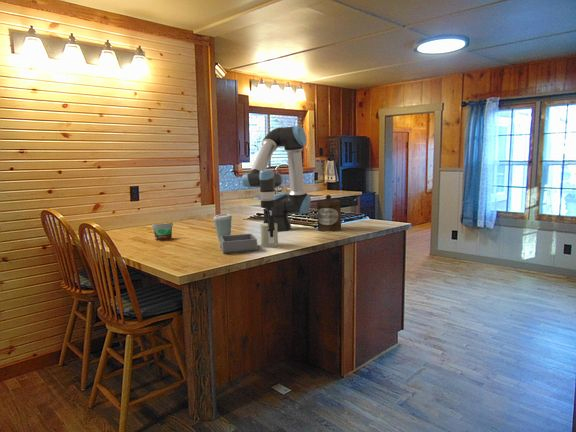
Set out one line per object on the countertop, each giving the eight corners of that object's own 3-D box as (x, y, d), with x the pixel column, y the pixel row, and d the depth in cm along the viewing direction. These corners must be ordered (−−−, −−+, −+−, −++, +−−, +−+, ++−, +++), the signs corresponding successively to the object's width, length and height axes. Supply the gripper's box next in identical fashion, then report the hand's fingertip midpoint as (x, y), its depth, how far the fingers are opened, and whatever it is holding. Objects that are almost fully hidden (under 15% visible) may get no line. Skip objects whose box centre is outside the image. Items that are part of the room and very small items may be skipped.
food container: (153, 241, 242) (152, 225, 240) (152, 240, 247) (151, 223, 246) (175, 239, 246) (174, 223, 245) (174, 237, 252) (172, 221, 250)
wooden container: (315, 231, 255) (314, 196, 252) (320, 227, 269) (319, 193, 266) (339, 231, 251) (338, 196, 248) (343, 227, 265) (342, 193, 262)
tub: (252, 244, 224) (251, 233, 223) (257, 250, 207) (256, 239, 207) (220, 247, 220) (219, 236, 219) (223, 254, 203) (222, 242, 203)
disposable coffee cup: (229, 242, 231) (228, 216, 229) (211, 242, 233) (210, 216, 231) (235, 238, 241) (234, 213, 239) (218, 238, 244) (216, 213, 242)
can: (262, 247, 214) (261, 225, 213) (260, 244, 223) (259, 222, 221) (279, 246, 216) (278, 224, 214) (276, 243, 225) (275, 221, 223)
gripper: (256, 198, 226) (258, 237, 229) (264, 202, 204) (266, 246, 207) (270, 197, 228) (271, 236, 231) (279, 201, 206) (281, 244, 209)
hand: (269, 241), depth 219 cm, fingers open, 10 cm apart
